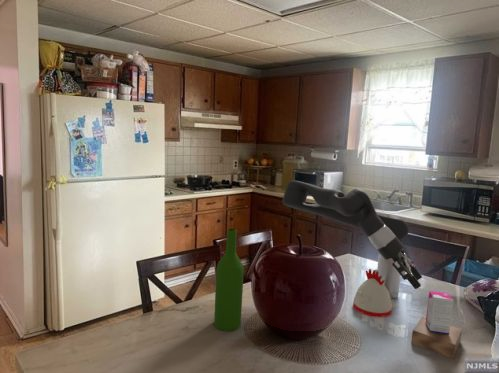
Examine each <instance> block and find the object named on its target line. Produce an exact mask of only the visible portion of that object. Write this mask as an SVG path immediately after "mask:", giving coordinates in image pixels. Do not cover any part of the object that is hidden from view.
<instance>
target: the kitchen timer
mask: <svg viewBox="0 0 499 373" xmlns="http://www.w3.org/2000/svg"><path fill="white" fill-rule="evenodd" d="M375 270H376V269H374V270H372V269H371V268H369V269H368V270H366V271H365V275H366V280H365V281H362V283H361V284H360V285H359V287H358V288H357V289H356V290H357V291H356V293H355V295H354V298H353V302H352V303H353V304H352V306H353V309H355V310H356V311H357V312H359V313H361V314H363V315H366V316H369V317H373V316H374V317H375V318H384V317H389V316H391V314H392V307H393V306H392V305H393V304H392V298H390V294H389V291H388V290H387V288H386V286H385V285H384V284H383V283H384V281H385V280H383V281H382V282H381V277H382V276H379V272H378V271H377V272H376V274H375Z"/></svg>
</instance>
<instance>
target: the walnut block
mask: <svg viewBox="0 0 499 373" xmlns="http://www.w3.org/2000/svg"><path fill="white" fill-rule="evenodd" d="M425 323H426V316H422V317H421V318H420V320H419V321H418V322H417V323H416V325H415V326H414V328H412V333H411V344H412V345H415V346H417V347H419V348H423V349H426V350H428V351H431V352H434V353H436V354H439V355H442V356H445V357H447V358H450V359H454V358H455V356H456V353H457V352H458V349H459V347H460V344H461V342H462V341H461V340H462V334H463V329H462V328H459V327H456V326H453V325H450V332H449V335H447V334H440V333H432V332H430V331H429V329H428V328H427V326H426V324H425Z"/></svg>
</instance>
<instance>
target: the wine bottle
mask: <svg viewBox="0 0 499 373" xmlns="http://www.w3.org/2000/svg"><path fill="white" fill-rule="evenodd" d="M226 231H227V233H226V246H225V247H226V248H225V253H224V254H223V256H222V257H221V258H220V260H219V261H218V263H217V265H216V270H215V272H216V273H215V274H216V275H215V294H214V295H215V297H214V298H215V299H214V319H213V320H214V321H213V322H214V326H215V328H217V329H218V330H220V331H224V332H232V331H237V330H238V329H239V328H240V327H241V325H242V308H243V293H244V292H243V289H244V288H243V287H244V269H245V268H244V264H243V263H242V261H241V260H240V258H239V256H238V254H237V250H236V248H237V229H236V228H227V230H226Z"/></svg>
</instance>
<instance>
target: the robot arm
mask: <svg viewBox="0 0 499 373" xmlns="http://www.w3.org/2000/svg"><path fill="white" fill-rule="evenodd" d="M285 187H286V188H285V191H284V193H283V197H282V204H283V205H284V206H286V207H288V208H291V209H295V210H298V211H302V212H306V213H310V214H314V215H317V216H321V217H324V218H326V219H329V220H332V221H335V222H338V223H339V224H340V223H341V224H343V225H346V226H347V225H348V226H351V227H354V228H357V229H358V228H359V229H361V230H362V232H363V233H364V234H365V236H366V237H367V238H368V239H369V241H370V242H371V244H372V246H374V248H375V249H376V250H377V252H378V257H377V258H378V259H377V268H376V269H374V270H375V274H376V272H377V271H378V272H379V276H382V277H381V282H382V281H383V280H385V281H384V283H383V284H384V285H385V286H386V288H387V290H388V291H389V294H390V298H391V299H396V298H398V297H399V294H400V293H399V292H400V284H401V278H402V279H403V280H404V281H405V280H406V281H408V282H409V284H410V285H411V287H413V288H414V289H415V290H418V289H419V288H421V287H422V284H421V283H420V282H419V280H420V279H422V278H423V277H422V274H421V273H420V272H419V270H418V269H417V268H416V265H415V262H414V261H413V260H412V259H411V258H410V256H409V255H408V254H407V253H406V252H405V250H404V248H405V246H404V244H403V242H402V241H403V240H404V239H406V238H407V236H408V235H409V226H408V224H407V222H406V221H405V220H403V219H402V218H401V217H400V216H398V215H395V214H389V215H383V214H382V215H381V214H378V213H377V211H376V209H375V208H374V205H373V203H372V201H371V199H370V197H369V195H368V194H367V193H366V191H365V190H362V189H361V188H354V189H352V190H351V191H350V192H348V193H346V194H345V193H344V192H343V191H341V190H339V189H331V188H325V187H320V186H317V185H315V184H311V183H307V182H304V181H299V180H290V181H288V182H287V185H286V186H285ZM308 194H310V195H311V197H312V199H313V200H314V201H315V204H314V203H312V204H310V203H308V204H307V203H306V201H307V197H308Z"/></svg>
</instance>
